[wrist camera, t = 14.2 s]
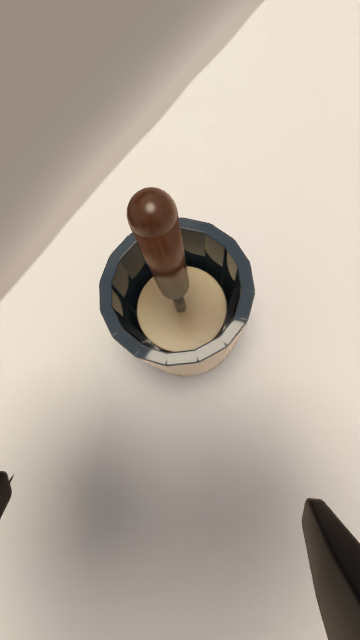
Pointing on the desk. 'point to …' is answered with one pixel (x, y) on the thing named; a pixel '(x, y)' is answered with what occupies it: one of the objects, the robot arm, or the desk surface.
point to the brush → (172, 279)
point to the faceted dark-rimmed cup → (200, 252)
